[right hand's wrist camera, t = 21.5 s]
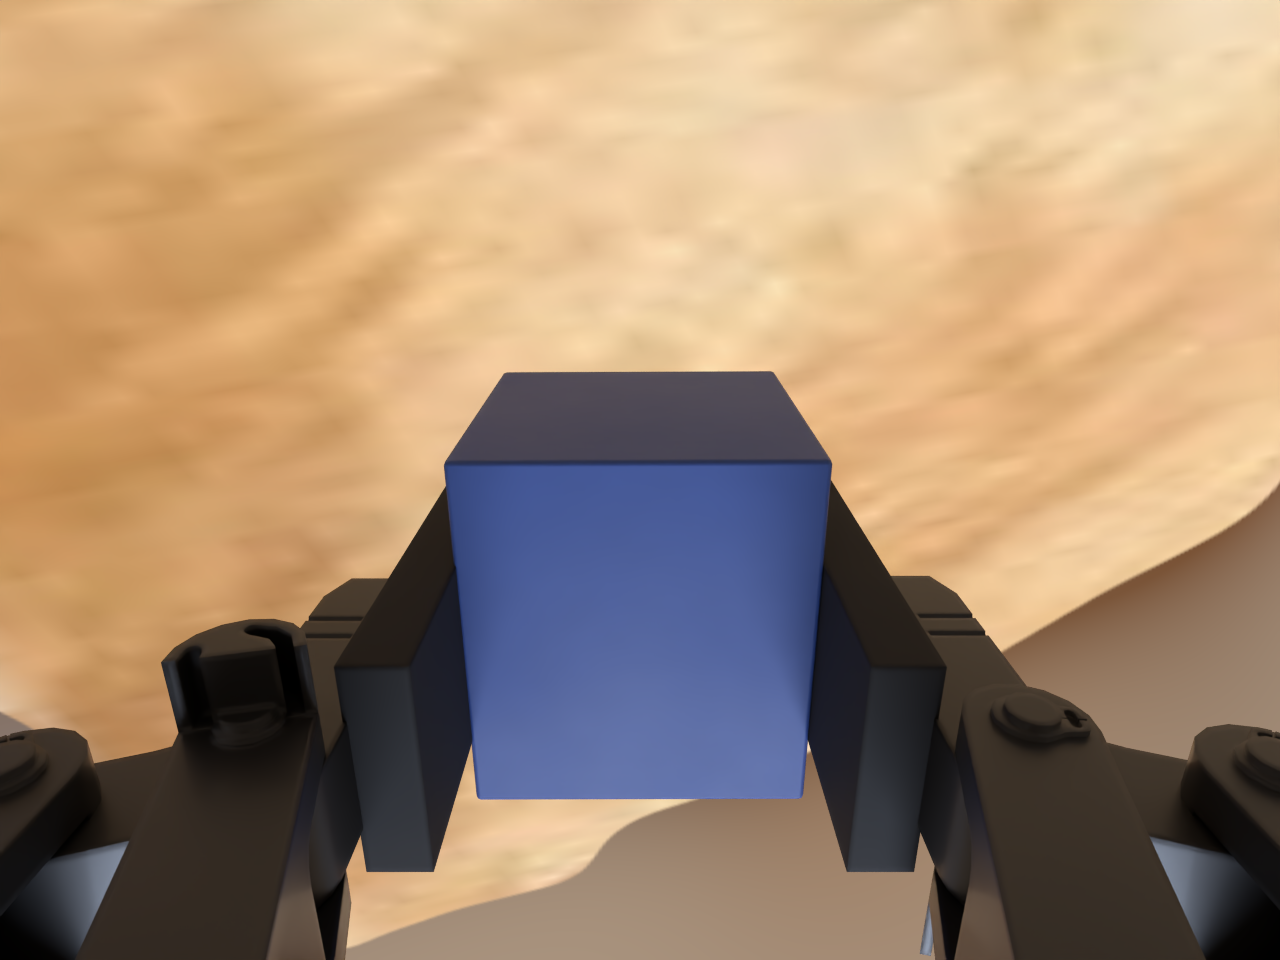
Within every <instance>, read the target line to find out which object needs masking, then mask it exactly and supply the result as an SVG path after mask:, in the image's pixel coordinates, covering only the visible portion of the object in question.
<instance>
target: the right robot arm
mask: <svg viewBox="0 0 1280 960" xmlns="http://www.w3.org/2000/svg"><path fill="white" fill-rule="evenodd" d="M161 664H162V668H163V672H164V676H165V680H166V684H167V688H168V692H169V696H170V700H171V704H172V708H173V712H174V716H175V720H176V724H177V728H178V732H179V733H178V735H177V737H176V740H175V742H174V744H173V746H172V747H169V748H165V749H161V750H157V751H153V752H148V753H143V754H139V755H134V756H129V757H124V758H119V759H114V760H109V761H104V762H99V763H94V762H93V759H92V755H91V752H90V749H89V745H88V742H87V740H86V739H85V738H83V737H82V736H81V735H79V734H78V733H77V732H76V731H72V730H65V729H59V728H46V729H37V730H28V731H22V732H17V733H13V734H10V735H9V736H6V735H5V736H2V737H0V960H345V954H346V945H347V936H348V927H349V918H350V910H351V898H350V891H349V884H348V879H347V873H346V868H347V866H348V864H349V861H350V859H351V857H352V854H353V852H354V849H355V847H356V845H357V842H358V840H359V838H360V835H361V840H362V846H363V852H364V859H365V865H366V871H367V872H434V869H435V866H436V862H437V859H438V855H439V852H440V849H441V845H442V842H443V839H444V835H445V832H446V828H447V825H448V822H449V818H450V815H451V811H452V808H453V805H454V801H455V798H456V795H457V791H458V788H459V784H460V781H461V778H462V774H463V771H464V767H465V764H466V761H467V757H468V754H469V751H470V747H471V744H472V732H471V721H470V711H469V700H468V690H467V679H466V668H465V658H464V647H463V636H462V626H461V615H460V605H459V594H458V583H457V573H456V566H454V561H453V551H452V541H451V531H450V521H449V511H448V501H447V491H446V487H445V488H444V490H443V492H442V493H441V495H440V496H439V498H438V500H437V501H436V503H435V505H434V506H433V508H432V509H431V511H430V513H429V514H428V516H427V517H426V519H425V521H424V522H423V524H422V525H421V527H420V529H419V530H418V532H417V533H416V535H415V537H414V538H413V540H412V541H411V543H410V545H409V546H408V548H407V550H406V551H405V553H404V554H403V556H402V558H401V559H400V561H399V562H398V564H397V566H396V567H395V569H394V570H393V572H392V574H391V575H390V577H389V578H388V579H350V580H349V581H347V582H346V583H344V584H343V585H341V586H339V587H338V588H336V589H335V590H333V591H332V592H330V593H328V594H327V595H325V596H324V597H323V599H322V600H321V601H320V603H319V604H318V605H317V607H316V608H315V609H314V611H313V612H312V613H311V615H310V616H309V621H305V623H304V624H303V625H302V627H301V628H299V627H297V626H296V625H295V624H294V623H290V622H285V621H281V620H276V619H249V620H244V621H239V622H234V623H229V624H224V625H220V626H218V627H215V628H212V629H210V630H207V631H204V632H202V633H199V634H196V635H195V636H193V637H191V638H190V639H188V640H186V641H185V642H183V643H181V644H180V645H178V646H176V647H175V648H174V649H173V650H172V651H171V652H170V653H169V654H168V655H167V656H166V657H165V659H164V660H163V661H162V662H161ZM808 742H809V745H810V749H811V752H812V755H813V759H814V762H815V765H816V769H817V772H818V776H819V779H820V782H821V786H822V789H823V793H824V796H825V799H826V803H827V806H828V810H829V813H830V816H831V820H832V823H833V826H834V830H835V833H836V837H837V840H838V843H839V847H840V850H841V853H842V857H843V860H844V864H845V867H846V870H847V872H914V868H915V862H916V856H917V850H918V843H919V837H920V832H921V834H922V837H923V839H924V842H925V844H926V846H927V849H928V851H929V853H930V856H931V858H932V860H933V863H934V865H935V867H934V873H933V879H932V884H931V890H930V896H929V902H928V907H927V913H926V919H925V925H924V931H923V936H922V943H921V950H920V954H924V955H929V956H931V951H932V946H933V943H934V952H935V960H1280V733H1279V732H1272V731H1271V730H1268V729H1263V728H1258V727H1249V726H1240V725H1231V724H1227V725H1220V726H1213V727H1207V728H1206V729H1204V730H1203V731H1202V732H1200V733H1199V734H1198V735H1197V736H1195V738H1194V741H1193V745H1192V748H1191V751H1190V755H1189V758H1188V760H1183V759H1179V758H1174V757H1169V756H1164V755H1159V754H1154V753H1149V752H1144V751H1140V750H1134V749H1130V748H1125V747H1122V746H1118V745H1114V744H1110V743H1106V740H1105V738H1104V736H1103V734H1102V732H1101V730H1100V729H1099V728H1098V726H1097V725H1096V724H1095V723H1094V721H1093V720H1092V719H1091V717H1090V716H1089V715H1088V714H1086V713H1085V712H1083V711H1082V710H1081V709H1079V708H1078V707H1076V706H1075V705H1074V704H1072V703H1071V702H1069V701H1067V700H1065V699H1063V698H1060V697H1058V696H1056V695H1054V694H1051V693H1049V692H1047V691H1044V690H1040V689H1036V688H1032V687H1027V686H1026V685H1025V683H1024V682H1023V681H1022V679H1021V678H1020V677H1019V675H1018V674H1017V673H1016V671H1015V670H1014V669H1013V667H1012V666H1011V665H1010V663H1009V662H1008V661H1007V659H1006V658H1005V657H1004V655H1003V654H1002V653H1001V652H1000V650H999V649H998V648H997V646H996V645H995V644H994V642H993V641H992V640H991V638H990V637H989V636H986V635H985V630H984V629H983V628H982V626H981V625H980V624H979V622H978V621H977V620H976V618H972V613H971V612H970V610H969V609H968V608H967V606H966V605H965V604H964V602H963V601H962V600H961V598H960V597H959V596H958V595H957V593H955V592H954V591H952V590H950V589H949V588H947V587H946V586H944V585H943V584H941V583H939V582H938V581H936V580H935V579H933V578H932V577H930V576H890V574H889V573H888V571H887V569H886V568H885V566H884V565H883V563H882V561H881V560H880V558H879V557H878V555H877V553H876V552H875V550H874V549H873V547H872V545H871V544H870V542H869V540H868V539H867V537H866V536H865V534H864V532H863V531H862V529H861V528H860V526H859V524H858V523H857V521H856V520H855V518H854V516H853V515H852V513H851V512H850V510H849V508H848V507H847V505H846V504H845V502H844V500H843V499H842V497H841V495H840V494H839V492H838V491H837V489H836V487H835V486H834V484H833V483H832V481H831V483H830V494H829V505H828V517H827V528H826V539H825V551H824V562H823V574H822V585H821V596H820V608H819V619H818V630H817V642H816V653H815V664H814V675H813V686H812V698H811V709H810V720H809V731H808Z"/></svg>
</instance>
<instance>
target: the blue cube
mask: <svg viewBox="0 0 1280 960" xmlns="http://www.w3.org/2000/svg"><path fill="white" fill-rule="evenodd" d="M444 471H445V481H446V491H447V501H448V511H449V521H450V531H451V541H452V551H453V561H454V566H456V573H457V583H458V594H459V605H460V615H461V626H462V636H463V647H464V658H465V668H466V679H467V690H468V700H469V711H470V721H471V732H472V752H473V762H474V772H475V782H476V792H477V797H478V798H479V799H799V798H801V797H802V795H803V789H804V778H805V766H806V755H807V744H808V731H809V720H810V709H811V698H812V686H813V675H814V664H815V653H816V642H817V630H818V619H819V608H820V596H821V585H822V574H823V562H824V551H825V539H826V528H827V517H828V505H829V494H830V483H831V471H832V462H831V460H830V458H829V457H828V455H827V454H826V452H825V451H824V449H823V448H822V446H821V444H820V443H819V441H818V440H817V438H816V437H815V435H814V434H813V432H812V431H811V429H810V428H809V426H808V425H807V423H806V421H805V420H804V418H803V417H802V415H801V414H800V412H799V411H798V409H797V408H796V406H795V405H794V403H793V402H792V400H791V398H790V397H789V395H788V394H787V392H786V391H785V389H784V388H783V386H782V385H781V383H780V382H779V380H778V379H777V377H776V376H775V374H774V373H773V372H771V371H759V372H514V373H505V374H504V375H503V376H502V378H501V379H500V381H499V382H498V384H497V385H496V387H495V388H494V390H493V391H492V393H491V394H490V396H489V397H488V399H487V400H486V402H485V403H484V405H483V406H482V408H481V409H480V411H479V412H478V413H477V415H476V416H475V418H474V419H473V421H472V422H471V424H470V425H469V427H468V428H467V430H466V431H465V433H464V434H463V436H462V437H461V439H460V440H459V442H458V443H457V445H456V446H455V448H454V449H453V451H452V452H451V454H450V455H449V457H448V458H447V460H446V461H445V464H444Z"/></svg>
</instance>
